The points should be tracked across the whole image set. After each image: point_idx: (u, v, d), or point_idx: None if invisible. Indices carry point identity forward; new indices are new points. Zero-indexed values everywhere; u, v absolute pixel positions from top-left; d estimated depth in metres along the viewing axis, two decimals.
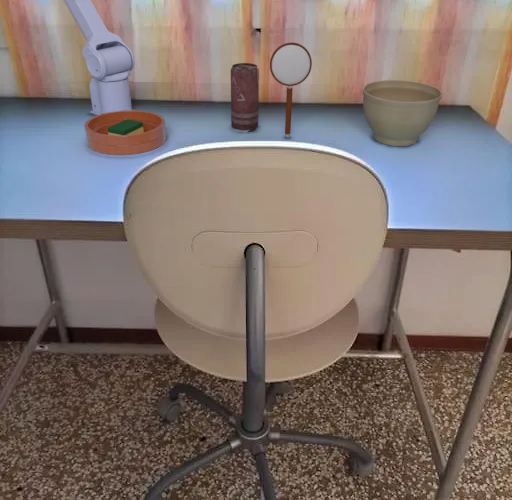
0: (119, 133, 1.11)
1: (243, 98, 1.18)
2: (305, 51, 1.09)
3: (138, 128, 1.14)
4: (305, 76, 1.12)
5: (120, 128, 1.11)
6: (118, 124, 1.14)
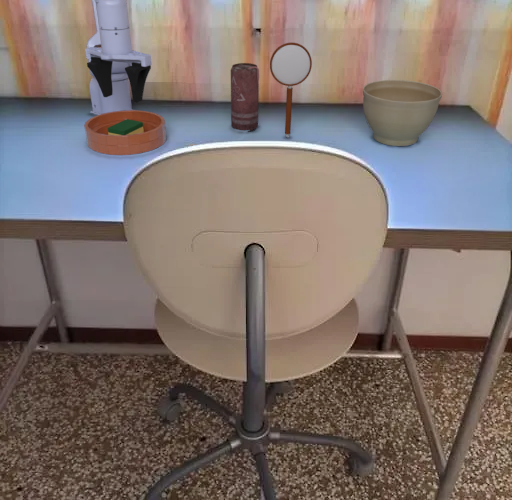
0: (119, 133, 1.11)
1: (243, 98, 1.18)
2: (305, 51, 1.09)
3: (138, 128, 1.14)
4: (305, 76, 1.12)
5: (120, 128, 1.11)
6: (118, 124, 1.14)
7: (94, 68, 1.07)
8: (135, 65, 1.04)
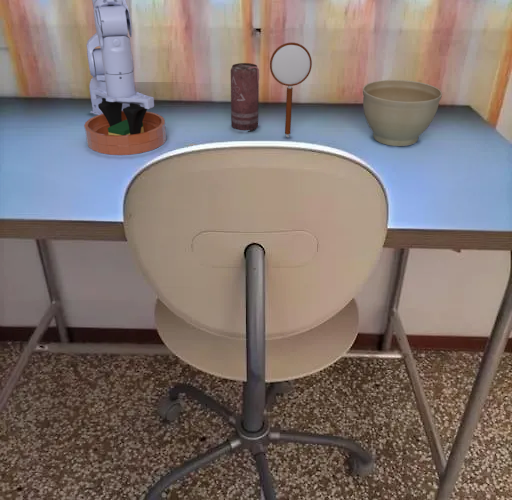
0: (119, 133, 1.11)
1: (243, 98, 1.18)
2: (305, 51, 1.09)
3: None
4: (305, 76, 1.12)
5: (120, 128, 1.11)
6: (118, 124, 1.14)
7: (105, 109, 1.11)
8: (133, 106, 1.09)
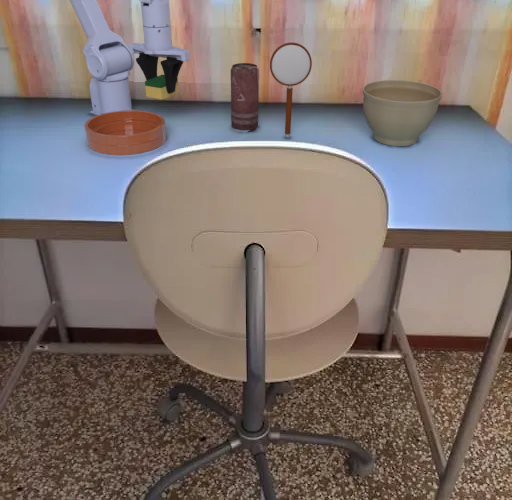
0: (156, 86, 1.16)
1: (243, 98, 1.18)
2: (305, 51, 1.09)
3: None
4: (305, 76, 1.12)
5: (157, 81, 1.16)
6: (154, 78, 1.18)
7: (142, 63, 1.16)
8: (170, 59, 1.14)
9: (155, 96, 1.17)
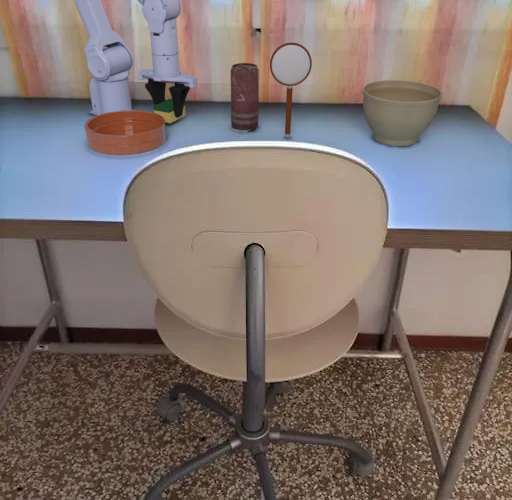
0: (164, 111, 1.21)
1: (243, 98, 1.18)
2: (305, 51, 1.09)
3: None
4: (305, 76, 1.12)
5: (165, 106, 1.21)
6: (163, 103, 1.23)
7: (151, 89, 1.20)
8: (177, 85, 1.18)
9: None
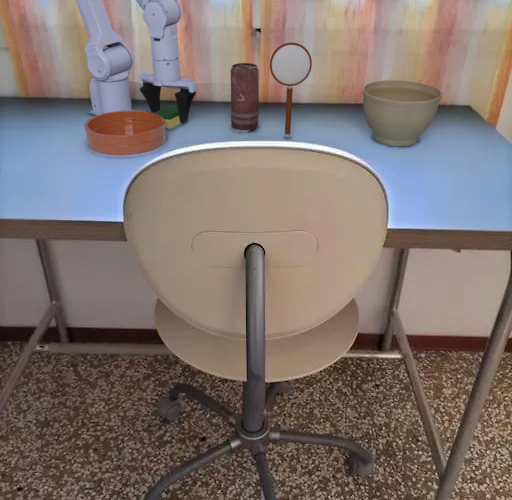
0: (165, 118, 1.21)
1: (243, 98, 1.18)
2: (305, 51, 1.09)
3: None
4: (305, 76, 1.12)
5: (165, 113, 1.22)
6: (163, 110, 1.24)
7: (146, 92, 1.21)
8: (183, 91, 1.18)
9: None
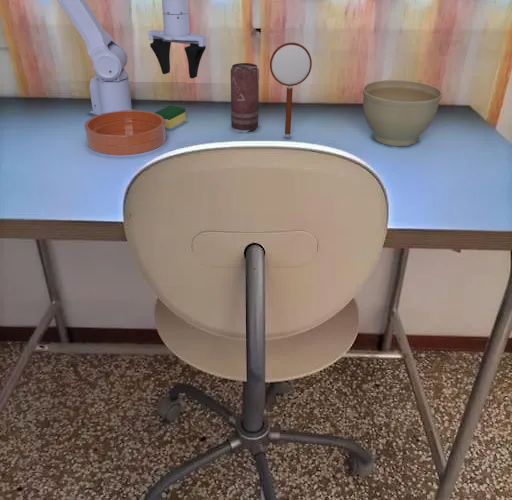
0: (165, 118, 1.21)
1: (243, 98, 1.18)
2: (305, 51, 1.09)
3: (181, 113, 1.25)
4: (305, 76, 1.12)
5: (165, 113, 1.22)
6: (163, 110, 1.24)
7: (156, 48, 1.23)
8: (193, 45, 1.20)
9: None
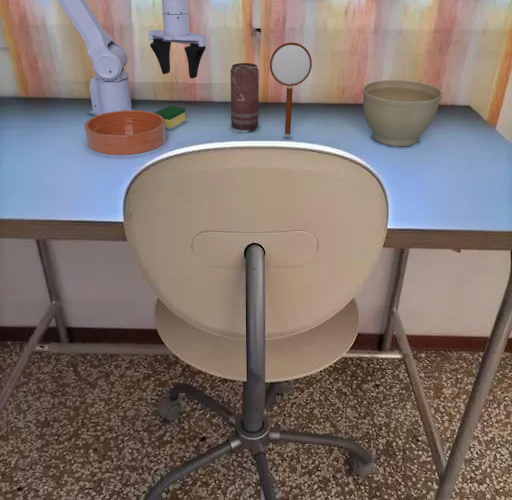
0: (165, 118, 1.21)
1: (243, 98, 1.18)
2: (305, 51, 1.09)
3: (181, 113, 1.25)
4: (305, 76, 1.12)
5: (165, 113, 1.22)
6: (163, 110, 1.24)
7: (156, 48, 1.23)
8: (193, 45, 1.20)
9: None
